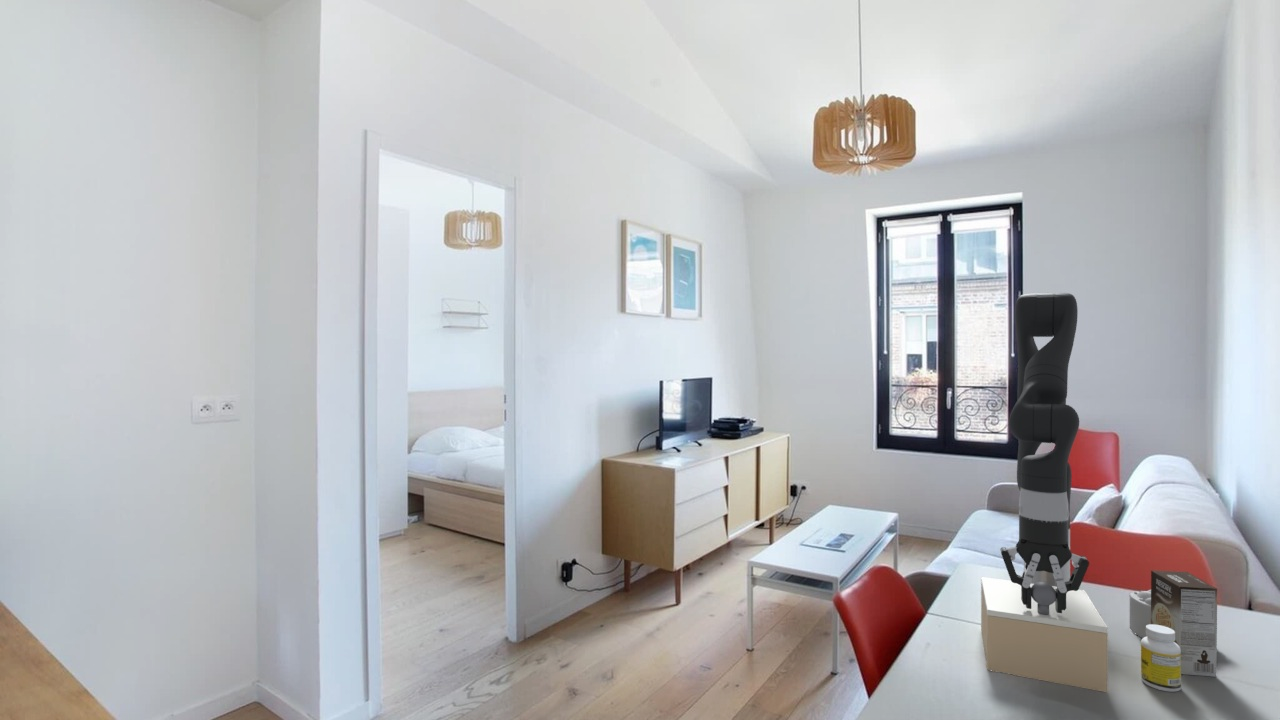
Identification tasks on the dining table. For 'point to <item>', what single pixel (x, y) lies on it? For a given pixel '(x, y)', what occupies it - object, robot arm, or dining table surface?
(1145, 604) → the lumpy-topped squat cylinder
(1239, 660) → the dining table surface
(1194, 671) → the coffee box
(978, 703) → the dining table surface
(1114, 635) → the dining table surface
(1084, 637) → the carton
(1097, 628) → the lid
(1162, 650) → the supplement bottle
